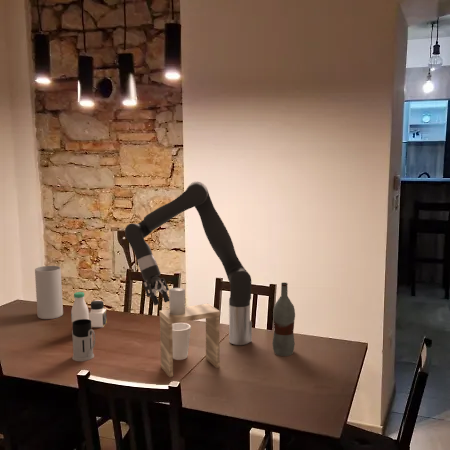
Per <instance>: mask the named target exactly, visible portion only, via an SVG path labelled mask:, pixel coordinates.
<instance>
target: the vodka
mask: <svg viewBox="0 0 450 450" xmlns="http://www.w3.org/2000/svg"><path fill="white" fill-rule="evenodd" d="M288 284H289V283H288V282H281V284H280V285H281V287H280V288H281V289H280V296H279V298H278V299H277V301H276V302H275V304H274V306H273V311H272V312H273V313H272V318H273V320H272V321H273V338H272V349H273V353H274V354H275V355H277V356H281V357H288V356H289V357H290V356H292V355H293V353H294V350H295V345H296V344H295V342H296V341H295V335H294V330H295V329H294V328H295V319H296V311H295V310H296V309H295V306H294V304H293V302H292V300H291V299H290V298H289V296H288V292H289V291H288V290H289V289H288Z"/></svg>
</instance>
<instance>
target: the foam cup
mask: <svg viewBox="0 0 450 450" xmlns="http://www.w3.org/2000/svg"><path fill="white" fill-rule="evenodd" d="M191 333H192V325H190V324H189V323H187V322H180V323H174V324H172V340H173V360H177V361H182V360H185V359H187V358H188V354H189V347H190V341H191V340H190V338H191Z"/></svg>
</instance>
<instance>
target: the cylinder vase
mask: <svg viewBox="0 0 450 450" xmlns="http://www.w3.org/2000/svg"><path fill="white" fill-rule="evenodd" d="M34 276H35V277H34V278H35V280H34V281H35V292H36V293H35V297H36V311H37V312H36V313H37V317H38V318H39V319H42V320H53V319H58V318H60V317H62V316H63V315H64V308H63V307H64V306H63V288H62V287H63V286H62V282H63V281H62V268H61V266H59V265H44V266H38V267H36V268H34Z"/></svg>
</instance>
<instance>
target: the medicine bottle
mask: <svg viewBox="0 0 450 450" xmlns="http://www.w3.org/2000/svg"><path fill="white" fill-rule="evenodd" d="M104 307H105V306H104V301H103V300H97V299H96V300H93V301H91V302H90V310H89V311H88V313H89V320H91V328H104V327H105V326H106V324H107V322H108V320H107V319H108V317H107V315H108V314H107V308H104Z"/></svg>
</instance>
